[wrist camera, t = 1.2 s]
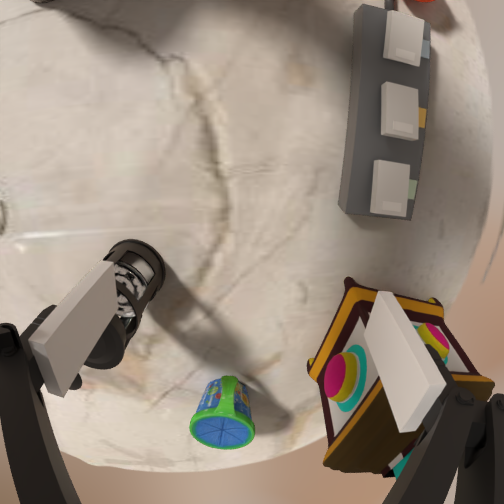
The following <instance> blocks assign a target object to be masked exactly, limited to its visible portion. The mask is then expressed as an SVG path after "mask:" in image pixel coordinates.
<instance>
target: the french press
mask: <svg viewBox="0 0 504 504" xmlns="http://www.w3.org/2000/svg"><path fill="white" fill-rule="evenodd" d="M127 251H129V252H132V253H135V254H137V255H139V256H140V257H142V258H143V259H144V260H145V261H146V262H147V263H148V264H149V265H150V266H151V268H152V270H153V272H154V276H153V277H152V279H151V281H150V282H149V284H148V283H147V281H146V280H145V278H144V277H143V275H142V274H141V273H140V272H139V271H138V270H137V269H136V268H134V267H133V266H132V265H130V264H128V263H126V262H123V261H119V260H120V259H121V258H122V257H123V256H124V255H125V253H126V252H127ZM103 261H109V262H114V272H115V283H116V292H117V301H118V310H117V312H116V313H115V315H114V316H113V318H112V319H111V321H110V322H109V324H108V325H107V327H106V329H105V330H104V332H103V333H102V335H101V336H100V338H99V340H98V341H97V343H96V344H95V346H94V348H93V349H92V351H91V352H90V354H89V356H88V357H87V359H86V361H85V362H84V365H86V366H88V367H91V368H95V369H104V370H105V369H111V368H113V367H115V366H117V365H118V364H119V363H120V362H121V360H122V359H123V356H124V352H125V349H126V347H127V345H128V343H129V341H130V339H131V338H132V337H133V336H134V334H135V333H136V331H137V329H138V327H139V325H140V322H141V318H142V313H143V311H144V310H145V309H146V307H147V305H148V303H149V302H150V301H151V300H152V299H153V298H154V296H155V295H156V293H157V292H158V291H159V290H160V288H161V287H162V285H163V283H164V280H165V266H164V263H163V261H162V258H161V257H160V255H159V254H158V252H157V251H156V250H155V249H154V248H153V247H151V246H150V245H148V244H147V243H145V242H143V241H140V240H135V239H127V240H123V241H120V242H118V243H117V244H115V245H114V246H113V247H112V248H111V249H110V251H109V253H108V254H107V255H106V256H105V258H104V259H103ZM118 315H119V316H121V318H119V317H118ZM81 386H82V379H81V377H80V375H79V373H78V374H77V376H76V377H75V379H74V381H73V382H72V384H71V386H70V388H69V389H70V390H77V389H79V388H81Z"/></svg>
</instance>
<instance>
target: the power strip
mask: <svg viewBox="0 0 504 504" xmlns="http://www.w3.org/2000/svg"><path fill="white" fill-rule="evenodd" d="M391 10H394V0H385V9H382V8H378V7H374V6H370V5H366V4H362V5H361V6H360V7H359V8H358V9H357V10H356V11H355V12H354V28H353V53H352V71H351V86H350V100H349V112H348V123H347V133H346V143H345V152H344V161H343V169H342V177H341V185H340V193H339V200H338V205H339V206H340V208H341V209H342V210H343V211H344V213H347V214H357V215H367V216H376V217H385V218H394V219H402V220H411V218H412V213H413V208H414V203H415V197H416V192H417V186H418V180H419V174H420V167H421V161H422V154H423V146H424V138H425V129H426V119H427V109H428V96H429V79H430V23H428V22H425V21H424V30H423V40H422V49H421V57H420V65H419V67H418V66H413V65H410V64H406V63H402V62H399V61H395V60H391V59H387V58H383V53H384V44H385V34H386V24H387V12H388V11H391ZM386 81H387V82H391V83H395V84H399V85H403V86H407V87H411V88H415V89H418V107H419V130H418V140H414V141H409V140H405V139H400V138H395V137H389V136H384V135H381V85H382V84H384V83H385V82H386ZM375 160H384V161H390V162H396V163H402V164H407V165H410V174H409V188H408V200H407V211H406V217H402V216H394V215H385V214H376V213H371V212H370V206H371V195H372V183H373V168H374V161H375Z"/></svg>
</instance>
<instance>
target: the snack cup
mask: <svg viewBox="0 0 504 504" xmlns="http://www.w3.org/2000/svg"><path fill="white" fill-rule="evenodd" d="M189 429H190V433H191V435H192V436H193V437H194V438H195V439H196V440H197V441H199V442H200V443H202V444H204V445H206V446H209V447H212V448H217V449H237V448H241V447H244V446H246V445H248V444H249V443H250V442H251V441H252V440H253V439H254V436H255V425H254V423H253V422H252V419H251V410H250V406H249V398H248V392H247V390H246V387H245V386H244V385H242V384H241V383H239V382H238V379H237V378H236V377H234V376H222V378H221V379H217V380H214V381H212V382H210V383H209V384H208V386H207V388H206V390H205V392H204V394H203V396H202V399H201V401H200V404H199V406H198V408H197V411H196V414H194V415H193V417H192V419H191V421H190V426H189Z"/></svg>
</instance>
